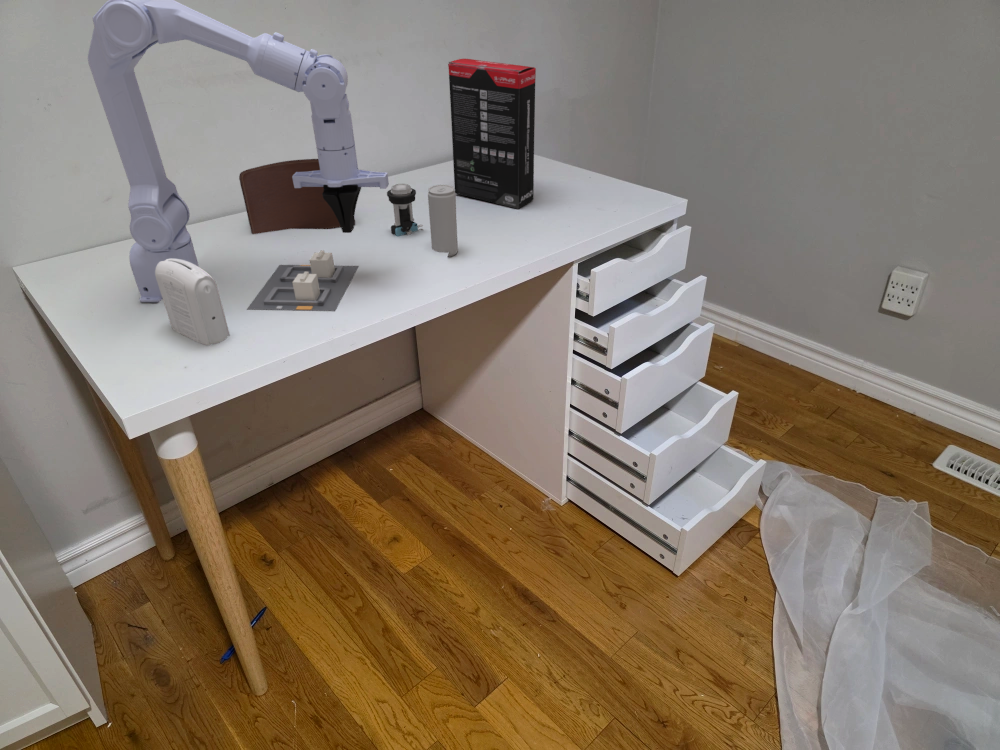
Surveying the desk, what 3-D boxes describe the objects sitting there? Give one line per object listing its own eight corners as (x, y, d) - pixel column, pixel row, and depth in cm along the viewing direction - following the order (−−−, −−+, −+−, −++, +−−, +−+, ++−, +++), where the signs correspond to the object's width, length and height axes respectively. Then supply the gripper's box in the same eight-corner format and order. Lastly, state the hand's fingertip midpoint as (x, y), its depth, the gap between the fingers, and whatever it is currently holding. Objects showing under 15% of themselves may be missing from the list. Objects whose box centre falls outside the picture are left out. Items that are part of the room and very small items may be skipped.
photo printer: (236, 342, 102) (216, 265, 95) (211, 355, 99) (188, 277, 92) (194, 322, 107) (172, 248, 100) (169, 334, 104) (144, 259, 97)
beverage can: (427, 256, 126) (422, 192, 119) (438, 245, 130) (434, 183, 123) (452, 259, 124) (448, 195, 118) (462, 249, 128) (459, 185, 121)
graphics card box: (536, 200, 148) (538, 63, 133) (519, 211, 143) (519, 70, 128) (470, 187, 156) (465, 55, 140) (452, 196, 151) (445, 61, 136)
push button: (415, 228, 137) (411, 178, 131) (430, 236, 133) (427, 185, 128) (386, 237, 133) (380, 186, 128) (401, 245, 130) (396, 194, 124)
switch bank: (248, 316, 108) (245, 306, 107) (281, 270, 122) (279, 261, 121) (336, 317, 108) (334, 307, 107) (359, 272, 121) (358, 262, 120)
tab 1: (296, 302, 109) (291, 279, 107) (302, 293, 112) (297, 270, 110) (315, 302, 109) (310, 279, 107) (320, 293, 112) (316, 271, 109)
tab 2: (312, 279, 116) (308, 257, 114) (317, 271, 118) (314, 249, 116) (330, 279, 116) (326, 257, 114) (335, 271, 118) (331, 250, 116)
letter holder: (356, 226, 138) (346, 155, 130) (253, 241, 133) (236, 168, 125) (347, 209, 146) (337, 141, 138) (249, 222, 141) (233, 153, 133)
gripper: (279, 153, 101) (296, 239, 109) (377, 153, 101) (387, 240, 108) (294, 139, 107) (309, 222, 115) (387, 139, 106) (396, 223, 114)
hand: (348, 230), depth 112 cm, fingers closed
